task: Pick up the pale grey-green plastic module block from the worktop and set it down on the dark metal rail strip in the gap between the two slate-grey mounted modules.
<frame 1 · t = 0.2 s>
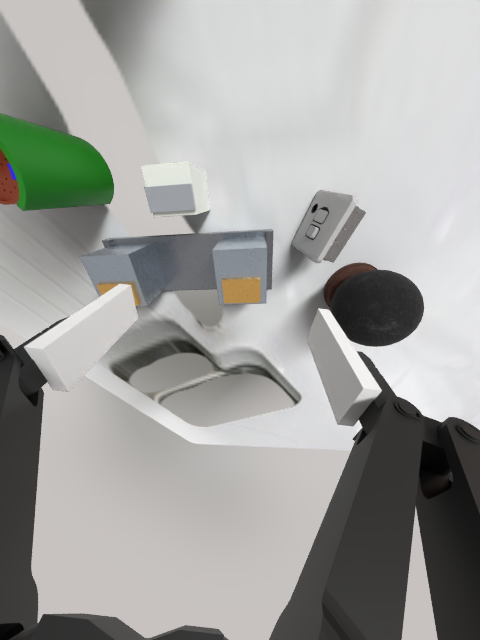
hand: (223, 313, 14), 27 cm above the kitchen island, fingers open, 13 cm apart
black ball on stand: (351, 288, 41), on the kitchen island
rail: (193, 262, 40), on the kitchen island
motor: (83, 172, 33), on the kitchen island
electrical switch: (317, 223, 35), on the kitchen island
module block: (191, 192, 33), on the kitchen island
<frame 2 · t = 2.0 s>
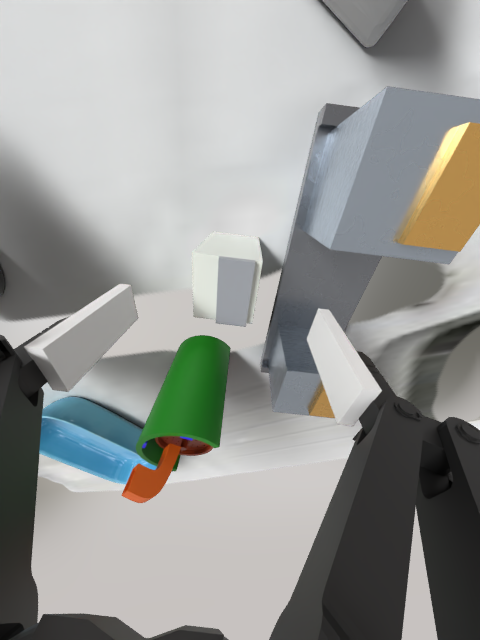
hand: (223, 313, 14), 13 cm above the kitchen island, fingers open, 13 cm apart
rail: (319, 284, 26), on the kitchen island
motor: (203, 355, 35), on the kitchen island
module block: (233, 259, 25), on the kitchen island
casserole dish: (111, 427, 52), on the kitchen island
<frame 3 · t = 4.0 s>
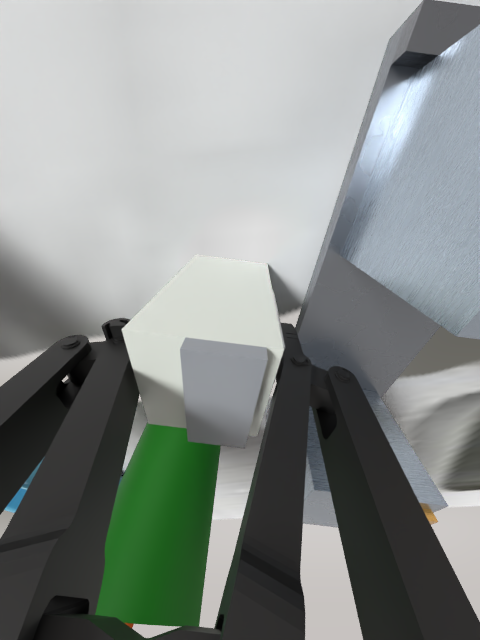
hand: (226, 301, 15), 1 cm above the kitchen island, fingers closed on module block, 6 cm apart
rail: (356, 329, 18), on the kitchen island
motor: (190, 407, 27), on the kitchen island
module block: (228, 293, 17), on the kitchen island, touching gripper
casserole dish: (86, 472, 44), on the kitchen island
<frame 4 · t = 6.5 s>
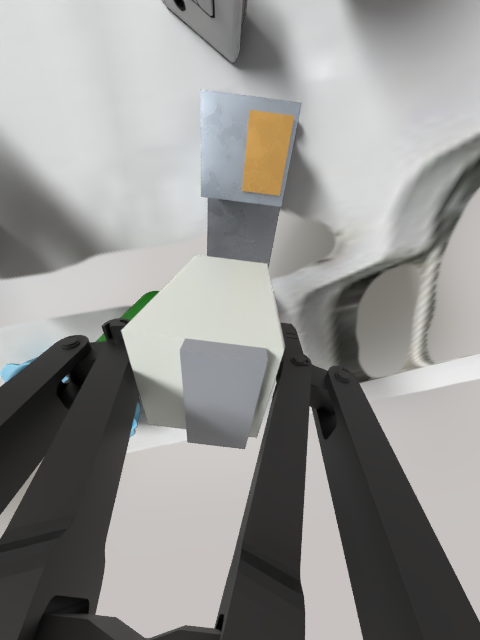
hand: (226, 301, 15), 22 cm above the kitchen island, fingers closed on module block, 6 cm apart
rail: (240, 243, 33), on the kitchen island
motor: (160, 310, 42), on the kitchen island
electrical switch: (208, 0, 20), on the kitchen island
module block: (228, 294, 17), point 20 cm above the kitchen island, touching gripper
casserole dish: (92, 386, 59), on the kitchen island
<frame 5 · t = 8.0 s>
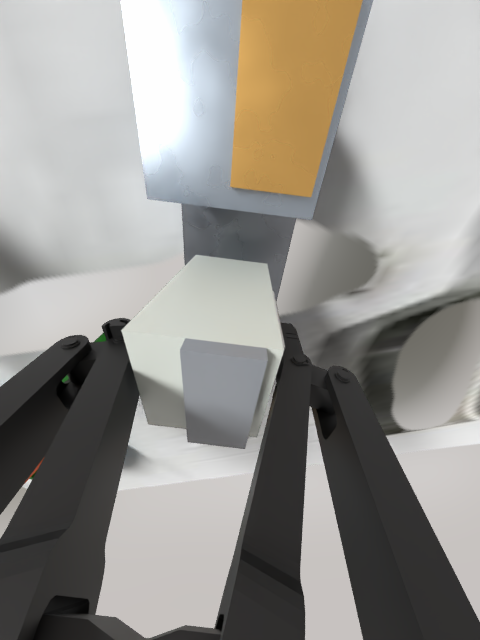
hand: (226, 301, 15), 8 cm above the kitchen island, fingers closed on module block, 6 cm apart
rail: (234, 267, 23), on the kitchen island
module block: (228, 294, 17), point 7 cm above the kitchen island, touching gripper
when the fingers open (4 cm above the kitchen island, at t = 9.1 s): module block drops 2 cm, resting on rail.
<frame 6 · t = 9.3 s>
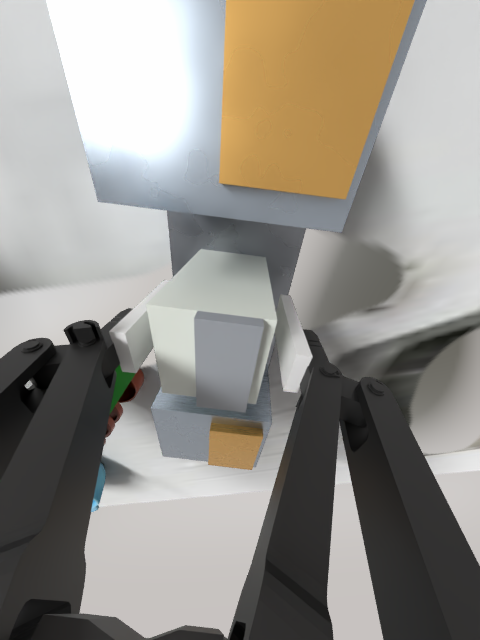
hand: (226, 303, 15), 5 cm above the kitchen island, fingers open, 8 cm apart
rail: (232, 280, 19), on the kitchen island
motor: (114, 369, 28), on the kitchen island
module block: (230, 285, 18), point 1 cm above the kitchen island, touching rail
casserole dish: (42, 447, 45), on the kitchen island
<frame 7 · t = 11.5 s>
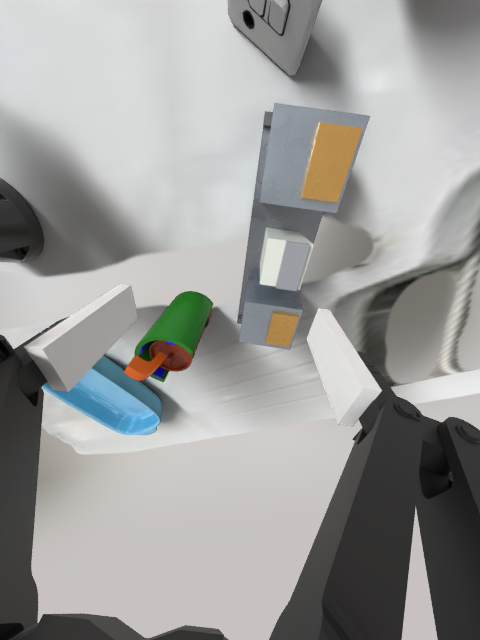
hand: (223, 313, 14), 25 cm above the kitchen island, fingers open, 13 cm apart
rail: (278, 247, 34), on the kitchen island
motor: (192, 310, 43), on the kitchen island
electrical switch: (273, 18, 22), on the kitchen island
module block: (278, 248, 33), point 1 cm above the kitchen island, touching rail
casserole dish: (116, 383, 61), on the kitchen island
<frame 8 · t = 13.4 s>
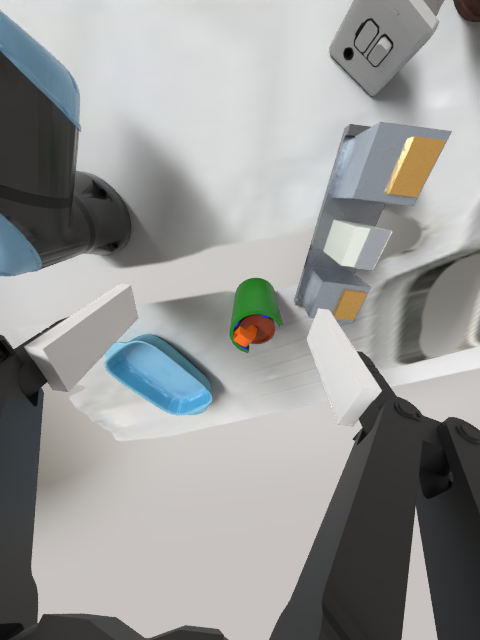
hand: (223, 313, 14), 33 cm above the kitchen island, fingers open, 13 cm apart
rail: (339, 236, 40), on the kitchen island
motor: (253, 295, 49), on the kitchen island
electrical switch: (363, 51, 27), on the kitchen island
module block: (341, 237, 39), point 1 cm above the kitchen island, touching rail
casserole dish: (168, 367, 66), on the kitchen island
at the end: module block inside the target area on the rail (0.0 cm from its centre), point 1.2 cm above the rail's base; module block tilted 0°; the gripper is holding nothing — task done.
